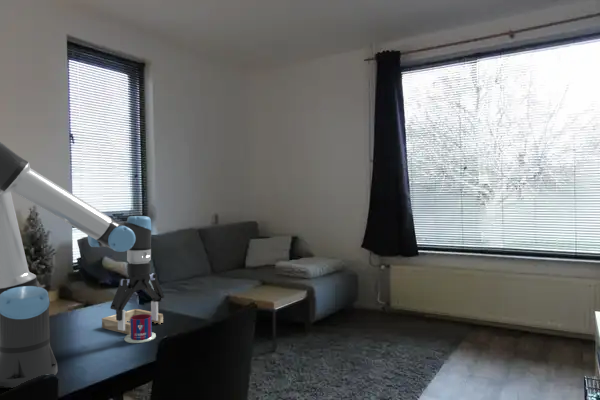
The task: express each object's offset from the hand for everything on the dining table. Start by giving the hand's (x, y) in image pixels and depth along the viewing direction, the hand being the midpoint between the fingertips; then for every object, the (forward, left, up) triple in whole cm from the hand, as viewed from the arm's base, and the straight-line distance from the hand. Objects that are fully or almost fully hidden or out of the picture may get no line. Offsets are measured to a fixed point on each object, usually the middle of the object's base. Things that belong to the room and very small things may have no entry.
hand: (138, 324), depth 152 cm
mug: (+1, 0, -4) cm, 4 cm away
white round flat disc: (0, 0, -5) cm, 5 cm away
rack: (+8, +13, -5) cm, 16 cm away
